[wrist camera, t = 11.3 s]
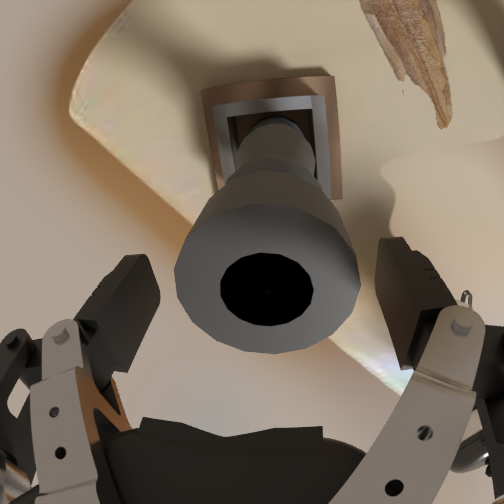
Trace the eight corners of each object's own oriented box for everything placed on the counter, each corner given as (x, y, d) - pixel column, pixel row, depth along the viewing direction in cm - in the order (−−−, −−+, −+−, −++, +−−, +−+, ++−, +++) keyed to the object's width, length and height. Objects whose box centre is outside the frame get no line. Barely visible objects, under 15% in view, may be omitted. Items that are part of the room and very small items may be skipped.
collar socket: (331, 76, 27) (344, 73, 21) (339, 194, 34) (350, 217, 28) (204, 89, 29) (186, 90, 24) (223, 203, 36) (212, 227, 30)
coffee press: (378, 329, 45) (415, 506, 19) (453, 267, 37) (544, 437, 12) (422, 364, 49) (456, 499, 23) (485, 317, 42) (545, 448, 16)
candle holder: (271, 103, 28) (243, 143, 7) (317, 139, 30) (407, 280, 8) (236, 147, 31) (136, 298, 10) (281, 180, 32) (278, 377, 11)
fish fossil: (472, 122, 27) (476, 124, 26) (408, 140, 31) (411, 142, 30) (393, -58, 15) (396, -61, 15) (319, -46, 19) (320, -50, 18)
